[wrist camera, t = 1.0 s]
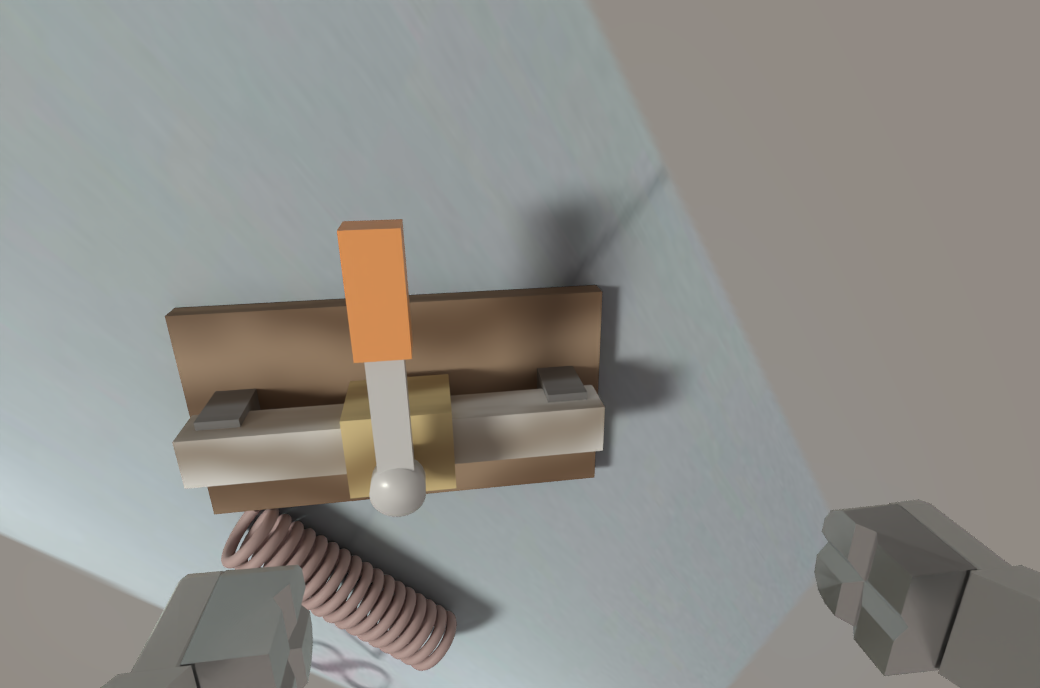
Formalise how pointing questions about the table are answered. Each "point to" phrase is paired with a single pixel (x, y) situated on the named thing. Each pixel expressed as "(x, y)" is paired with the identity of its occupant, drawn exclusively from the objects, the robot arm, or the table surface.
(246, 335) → the valve stand
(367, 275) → the valve lever
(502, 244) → the table surface
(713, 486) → the table surface
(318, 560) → the coil
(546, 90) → the table surface
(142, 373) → the table surface
